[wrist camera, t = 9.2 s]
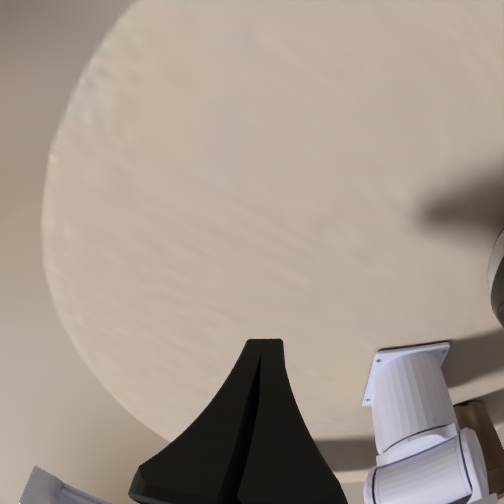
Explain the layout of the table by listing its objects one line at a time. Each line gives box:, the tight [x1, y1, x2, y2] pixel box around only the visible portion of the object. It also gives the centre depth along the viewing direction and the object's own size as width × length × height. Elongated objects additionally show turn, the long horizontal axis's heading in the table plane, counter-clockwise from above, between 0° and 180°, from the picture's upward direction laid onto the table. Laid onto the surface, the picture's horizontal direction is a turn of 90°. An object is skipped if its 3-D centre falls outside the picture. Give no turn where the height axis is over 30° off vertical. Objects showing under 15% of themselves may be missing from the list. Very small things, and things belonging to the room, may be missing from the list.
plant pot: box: [453, 401, 504, 500], centre depth 26 cm, size 16×16×16 cm
